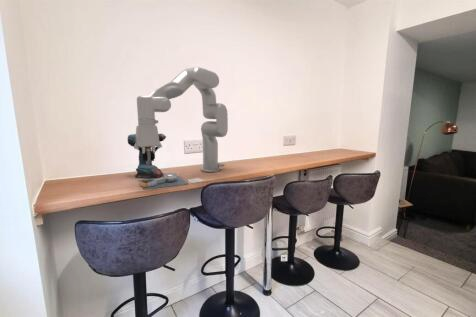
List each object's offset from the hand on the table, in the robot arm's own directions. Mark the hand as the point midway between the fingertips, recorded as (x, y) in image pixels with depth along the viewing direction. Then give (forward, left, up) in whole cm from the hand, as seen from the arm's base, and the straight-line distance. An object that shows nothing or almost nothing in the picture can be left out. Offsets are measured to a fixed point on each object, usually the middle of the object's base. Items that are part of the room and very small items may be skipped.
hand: (149, 160), depth 116 cm
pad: (-23, +1, -13) cm, 26 cm away
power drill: (-4, -20, -13) cm, 24 cm away
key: (0, 0, -2) cm, 2 cm away
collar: (-5, -2, -12) cm, 14 cm away
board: (-7, -4, -13) cm, 15 cm away
